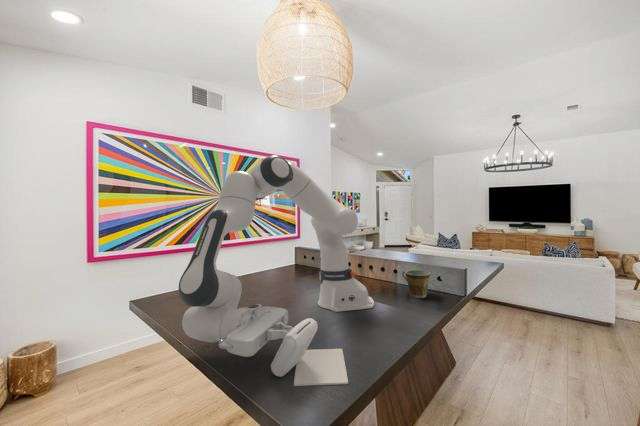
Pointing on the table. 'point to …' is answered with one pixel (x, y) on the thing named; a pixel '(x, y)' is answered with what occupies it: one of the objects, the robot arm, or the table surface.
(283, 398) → the table surface
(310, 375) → the mat
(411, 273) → the ceramic cup
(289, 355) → the photo printer
